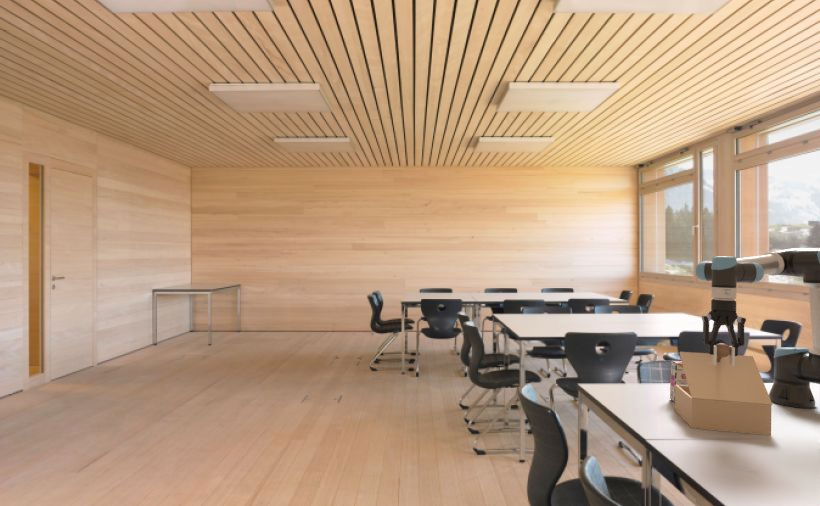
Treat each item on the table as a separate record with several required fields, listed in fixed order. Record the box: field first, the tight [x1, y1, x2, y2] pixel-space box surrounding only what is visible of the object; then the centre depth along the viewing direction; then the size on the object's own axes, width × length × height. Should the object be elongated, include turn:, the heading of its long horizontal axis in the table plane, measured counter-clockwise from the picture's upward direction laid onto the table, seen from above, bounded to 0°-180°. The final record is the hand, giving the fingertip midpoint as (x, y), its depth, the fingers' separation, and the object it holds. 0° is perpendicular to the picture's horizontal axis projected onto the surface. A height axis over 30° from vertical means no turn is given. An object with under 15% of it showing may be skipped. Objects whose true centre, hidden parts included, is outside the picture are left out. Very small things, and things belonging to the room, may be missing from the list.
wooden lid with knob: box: [679, 342, 773, 407], centre depth 168 cm, size 24×20×9 cm
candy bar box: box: [669, 360, 688, 403], centre depth 197 cm, size 11×5×16 cm, turn 84°
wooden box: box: [674, 385, 772, 436], centre depth 173 cm, size 24×20×10 cm
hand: (722, 364), depth 171 cm, fingers closed on wooden lid with knob, 5 cm apart
